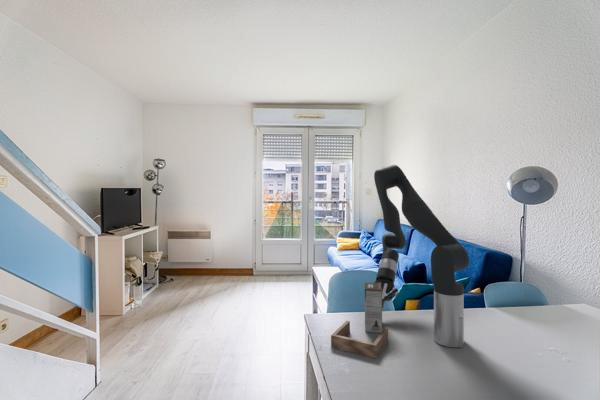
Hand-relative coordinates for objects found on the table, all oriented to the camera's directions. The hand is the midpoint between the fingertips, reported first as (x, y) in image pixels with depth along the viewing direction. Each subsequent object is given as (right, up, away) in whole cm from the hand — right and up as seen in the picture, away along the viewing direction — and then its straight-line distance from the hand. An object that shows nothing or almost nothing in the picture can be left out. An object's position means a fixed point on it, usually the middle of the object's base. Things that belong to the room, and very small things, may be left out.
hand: (378, 308), depth 130 cm
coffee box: (-4, -5, -6) cm, 9 cm away
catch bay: (-11, -6, -19) cm, 23 cm away
